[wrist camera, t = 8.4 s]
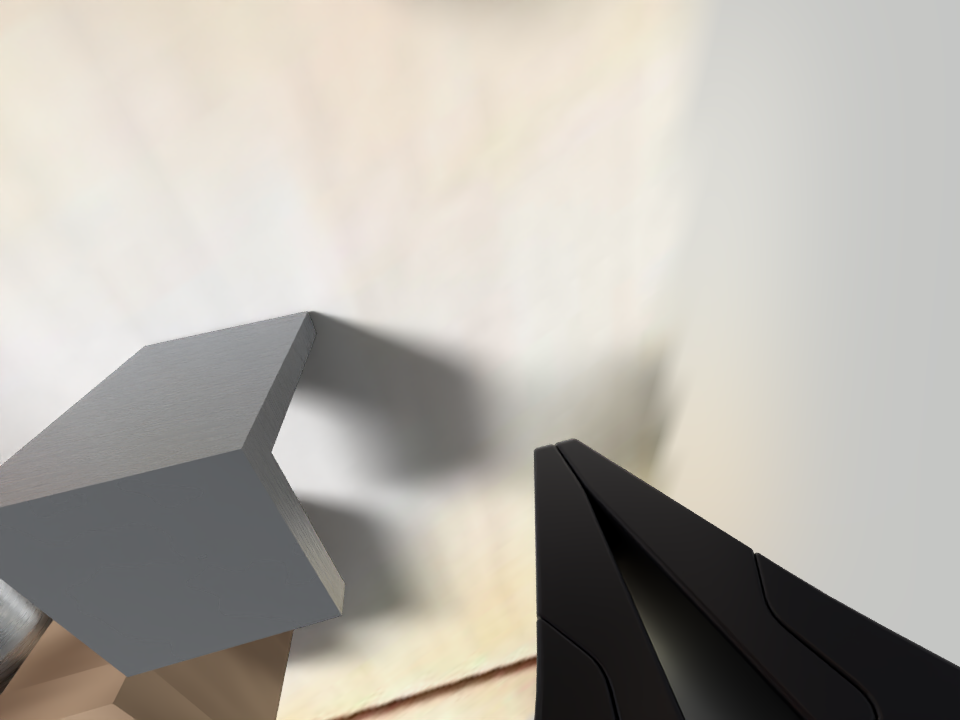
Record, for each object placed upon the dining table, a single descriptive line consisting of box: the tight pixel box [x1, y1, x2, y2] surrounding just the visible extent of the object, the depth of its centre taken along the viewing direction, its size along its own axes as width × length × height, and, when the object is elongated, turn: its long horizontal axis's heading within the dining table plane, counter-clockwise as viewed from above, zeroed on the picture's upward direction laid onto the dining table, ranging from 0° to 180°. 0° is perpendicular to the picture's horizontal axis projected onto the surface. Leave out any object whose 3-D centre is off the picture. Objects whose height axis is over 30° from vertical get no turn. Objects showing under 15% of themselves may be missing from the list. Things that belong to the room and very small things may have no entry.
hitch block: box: [0, 620, 293, 720], centre depth 14 cm, size 10×8×7 cm
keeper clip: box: [0, 311, 345, 677], centre depth 11 cm, size 5×6×7 cm
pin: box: [0, 579, 53, 695], centre depth 13 cm, size 5×14×5 cm, turn 9°
